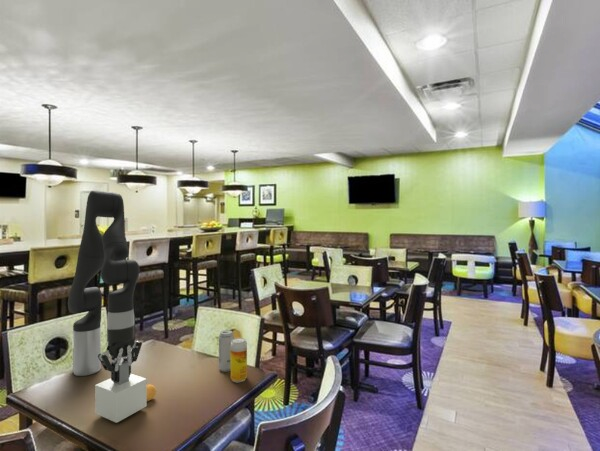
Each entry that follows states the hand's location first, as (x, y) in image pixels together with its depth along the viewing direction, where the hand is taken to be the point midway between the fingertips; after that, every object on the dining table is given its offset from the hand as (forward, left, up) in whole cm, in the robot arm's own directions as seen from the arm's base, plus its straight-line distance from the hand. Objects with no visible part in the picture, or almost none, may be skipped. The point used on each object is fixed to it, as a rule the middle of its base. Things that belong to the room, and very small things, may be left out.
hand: (121, 379), depth 107 cm
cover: (0, 0, -10) cm, 10 cm away
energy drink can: (+8, +40, -11) cm, 43 cm away
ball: (0, +9, -8) cm, 13 cm away
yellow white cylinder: (+18, +35, -11) cm, 41 cm away
